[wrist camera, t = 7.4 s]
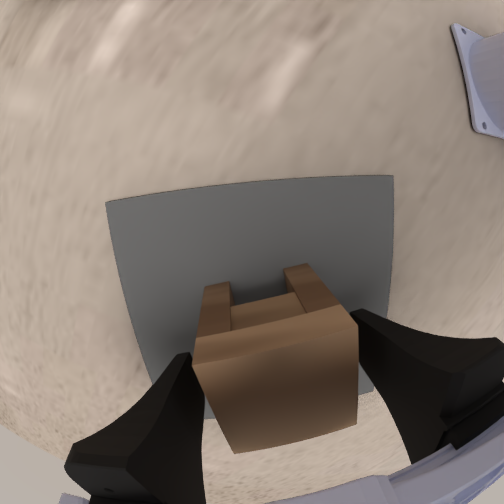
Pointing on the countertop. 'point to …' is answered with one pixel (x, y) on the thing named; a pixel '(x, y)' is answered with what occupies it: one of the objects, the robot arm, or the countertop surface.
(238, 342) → the notched brown block
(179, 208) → the mat
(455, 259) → the countertop surface
